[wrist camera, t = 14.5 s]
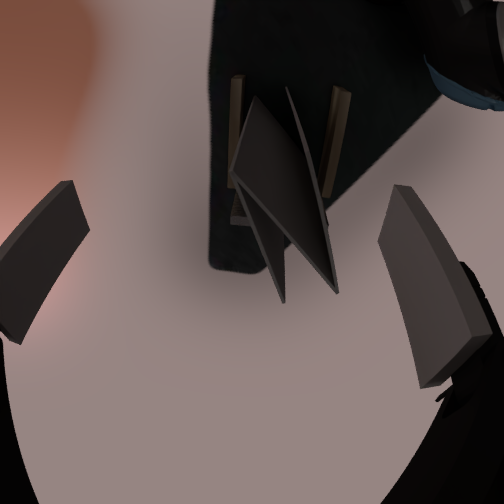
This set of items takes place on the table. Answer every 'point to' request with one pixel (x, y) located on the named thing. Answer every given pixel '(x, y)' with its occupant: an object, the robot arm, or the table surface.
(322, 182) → the slot rails
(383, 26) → the table surface
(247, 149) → the brochure
